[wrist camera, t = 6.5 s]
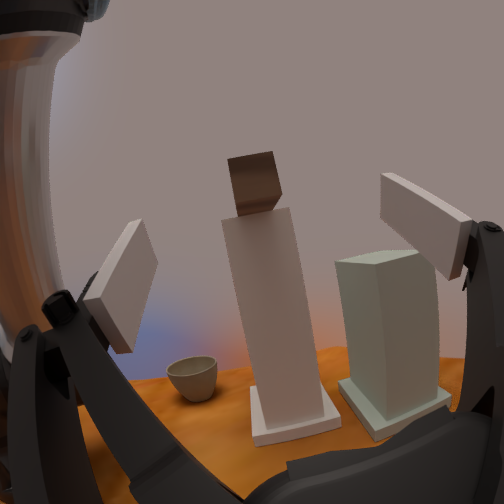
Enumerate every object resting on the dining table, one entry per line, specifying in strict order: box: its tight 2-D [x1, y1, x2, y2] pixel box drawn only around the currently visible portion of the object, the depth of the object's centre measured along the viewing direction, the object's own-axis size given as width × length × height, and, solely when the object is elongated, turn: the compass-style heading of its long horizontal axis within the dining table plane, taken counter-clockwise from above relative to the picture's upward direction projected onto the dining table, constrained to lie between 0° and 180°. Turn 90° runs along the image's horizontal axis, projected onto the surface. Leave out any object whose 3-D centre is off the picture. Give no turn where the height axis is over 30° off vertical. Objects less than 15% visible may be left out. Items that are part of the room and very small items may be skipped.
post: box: [335, 250, 452, 442], centre depth 35 cm, size 16×12×22 cm
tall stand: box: [222, 208, 342, 447], centre depth 40 cm, size 16×12×30 cm
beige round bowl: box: [166, 356, 217, 402], centre depth 50 cm, size 10×10×7 cm
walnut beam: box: [228, 151, 282, 217], centre depth 36 cm, size 24×4×4 cm, turn 1°
